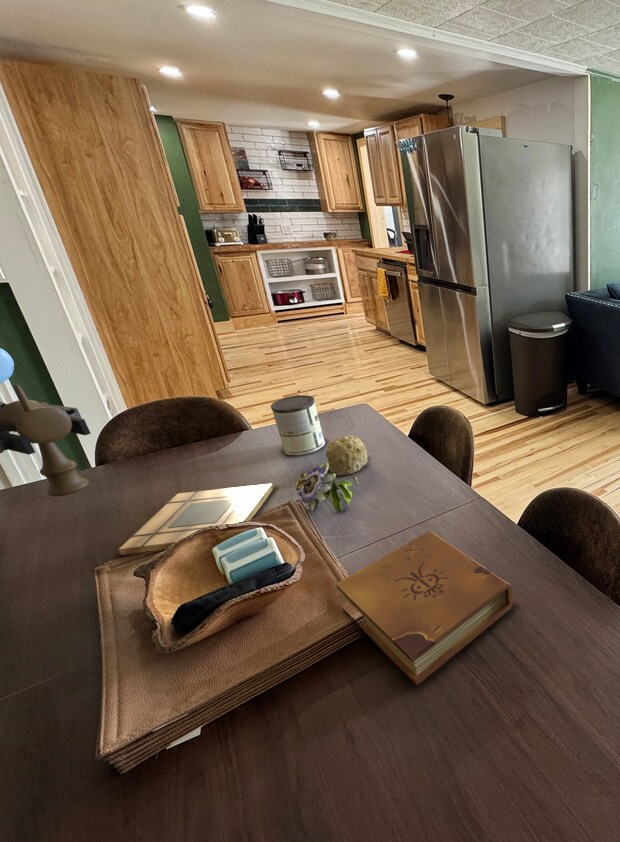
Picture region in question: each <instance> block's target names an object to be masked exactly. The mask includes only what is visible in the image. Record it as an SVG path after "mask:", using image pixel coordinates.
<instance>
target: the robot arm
mask: <svg viewBox="0 0 620 842" xmlns="http://www.w3.org/2000/svg"><path fill="white" fill-rule="evenodd" d="M14 367H15V363H14V359H13V357H12V356H11V355H10V354H9V353H8V352H7V351H6V350H4V349H3V348H1V347H0V385H2V384H3V383H5V382H6V381H7V380H9V379H10V378H11V376H12V375H13V373H14V369H15V368H14ZM40 403H41V404H43V405H44V407H53V408H59V409H60V410H62V411H64V412H66V413H67V415H68V416H69V417H70V418H71V422H72V428H71V431H70V433H72V434H76V435H82V436H89V435H90V434H92V433H91V430H90V429H89V427H88V424H87V422H86V420H85V419H84V418H82V416H81V413H80V411H79V408H78V407H72V406H65V405H57V404H56V405H55V404H48V403H47V402H44V401H41V402H40ZM6 404H7V403H5V402H3V401H1V400H0V409H1V408H2V407H4V406H5V405H6ZM11 432H12V431H10V430H8V429H6V428H4V427H3V426H2V425H1V423H0V454H3V453H4V452H5V451H11V452H16V453H20V454H24V455H29V456H30V455H32V454H35V453H36V450H35V449H34V447H33V445H32V443H30V441H29V439H28V437H24V436H20V435H19V434H15V433H11Z"/></svg>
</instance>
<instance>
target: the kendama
mask: <svg viewBox="0 0 620 842" xmlns="http://www.w3.org/2000/svg"><path fill="white" fill-rule="evenodd" d="M13 387H14V391H15V394H16V396H17V398H18V400H15V401H12V402H9V403H6V405H5V406H4V407H2V408H1V409H0V423H1V425H2V426H3V427H4V428H6V429H8V430H10V431H11V432H12V433H17V435H20V436H24V437H28V439H29V441H30V443H31V444H37V445H38V449H39V452H40V453H39V454H40V456H41V463H42V467H41V469H40V470H39V473H40V475H41V476H44V477H45V478H46V479H47V481H48V489H47V490H46V494H47V495H48V496H49V497H54V498H55V497H56V498H57V497H65V496H68V495H71V494H75V493H78V492H79V491H82V490H84V489H85V488H86V487H88V485H89V484H90V481H89V480H88V479H87V478H84V477H82V476H81V475H79V473H78V472H77V469H76V467H77V462H75V461H74V460H71V459H69V458H68V457H67V456H65V454H64V453H63V452H62V451H61V450H60V449H59V447H58V446H57V445H56V443H55V442H58V441H60V440H62V439H65V437H66V436H68V435H69V434H70V433H71V432H70V431H71V428H72V422H71V418H70V417H69V416H68V415H67V413H66V412H64V411H62V410H60V409H59V408H53V407H44V405H43V404H41V402H39V401H37V400H32V399H28V397H27V395H26V393H25V391H24V390H23V389H22V387H21V386H20V385H19V384H14V386H13Z"/></svg>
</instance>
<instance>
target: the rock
mask: <svg viewBox="0 0 620 842" xmlns="http://www.w3.org/2000/svg"><path fill="white" fill-rule="evenodd" d="M364 443H365V442H363V440H361V439H360V438H358V437H357V436H354V435H344V436H340V437H338V438H335V439H334V440H332V441H331V442H330V443H329V444H328V445H327V447H326V451H325V457H326V458H327V462H328V463H329V469H328V470H329V471H330V474H335V475H336V476H345V475H346V476H347V475H351V474H354V473H356V472H358V471H359V470H360V469H361V468H363V467H364V466H365V465H366V464H367V463H368V462H369V460H368V451H367V448H366V446H365V444H364Z"/></svg>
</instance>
